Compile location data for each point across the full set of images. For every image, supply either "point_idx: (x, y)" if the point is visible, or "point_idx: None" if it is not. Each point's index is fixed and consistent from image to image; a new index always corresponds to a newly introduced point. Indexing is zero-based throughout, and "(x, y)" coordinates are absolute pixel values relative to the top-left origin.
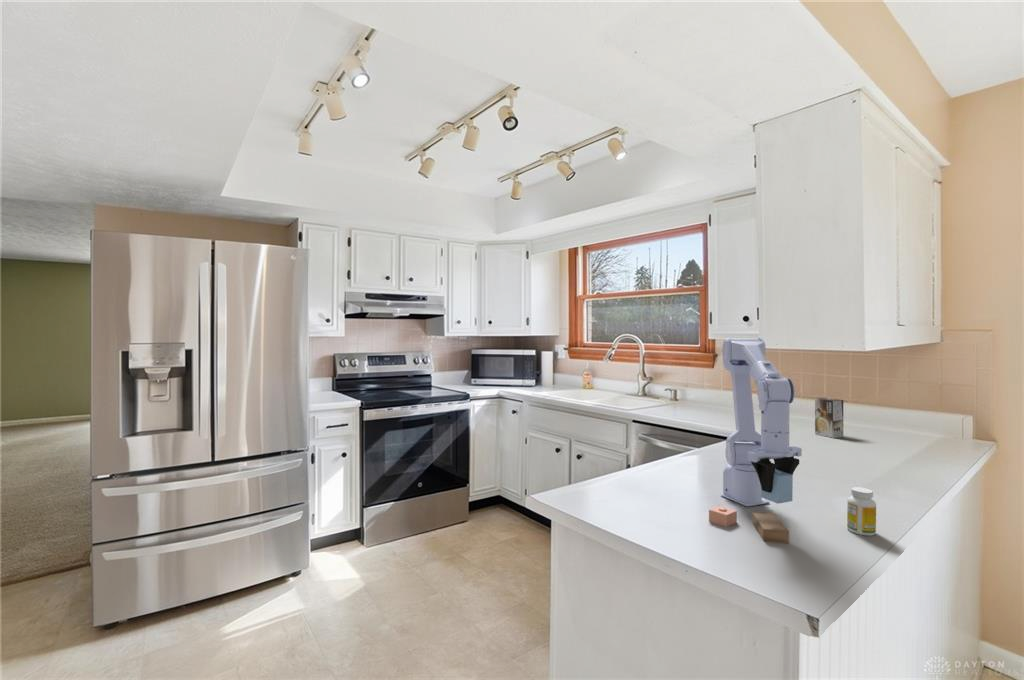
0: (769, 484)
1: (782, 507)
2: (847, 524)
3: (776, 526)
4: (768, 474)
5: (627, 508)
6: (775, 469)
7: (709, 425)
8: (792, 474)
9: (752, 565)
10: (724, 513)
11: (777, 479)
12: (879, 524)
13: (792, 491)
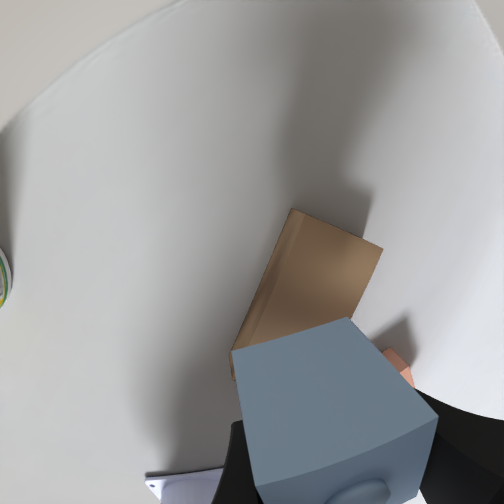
0: (423, 394)
1: (121, 455)
2: (4, 296)
3: (320, 266)
4: (489, 418)
5: None
6: (477, 460)
7: None
8: (216, 501)
9: (466, 108)
10: (405, 377)
11: (427, 404)
12: None
13: (237, 386)
